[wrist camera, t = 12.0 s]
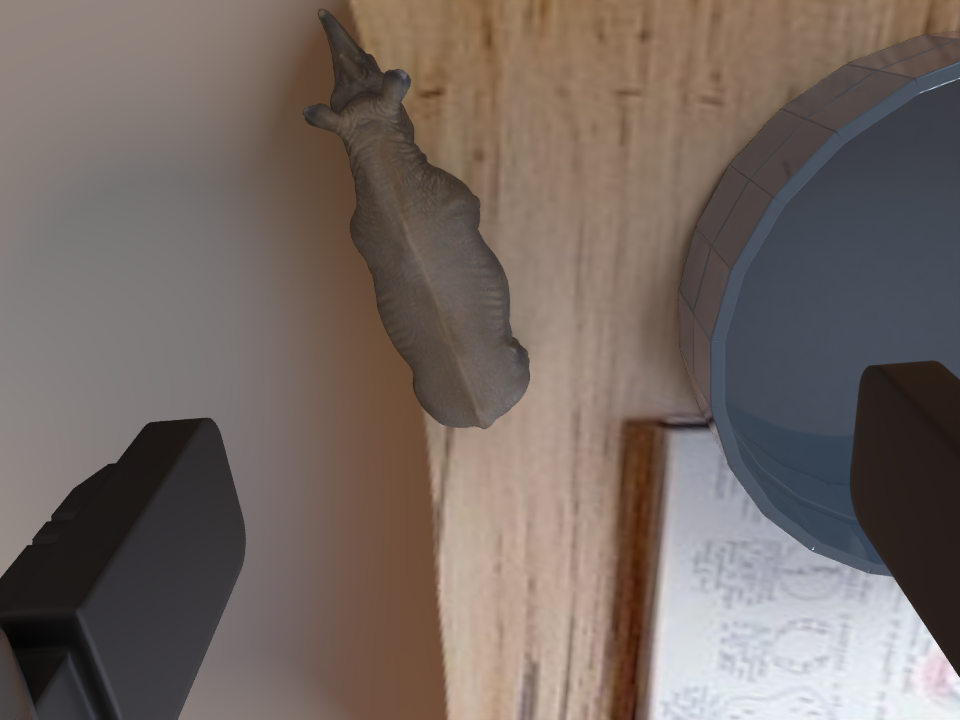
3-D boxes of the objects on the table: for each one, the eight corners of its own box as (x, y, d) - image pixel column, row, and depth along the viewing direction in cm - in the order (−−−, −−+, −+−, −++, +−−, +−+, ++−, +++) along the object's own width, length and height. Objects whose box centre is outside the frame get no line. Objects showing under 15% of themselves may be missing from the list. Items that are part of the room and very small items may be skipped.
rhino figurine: (408, -22, 26) (385, -24, 20) (547, 363, 31) (559, 445, 25) (287, 27, 26) (232, 37, 21) (443, 397, 31) (432, 483, 26)
